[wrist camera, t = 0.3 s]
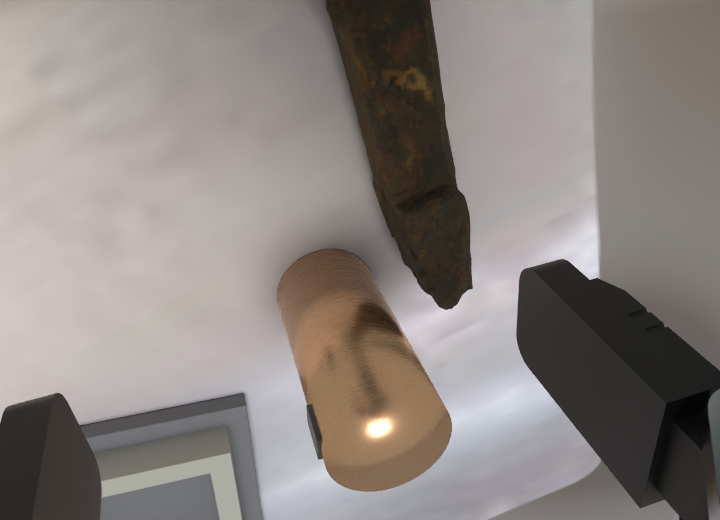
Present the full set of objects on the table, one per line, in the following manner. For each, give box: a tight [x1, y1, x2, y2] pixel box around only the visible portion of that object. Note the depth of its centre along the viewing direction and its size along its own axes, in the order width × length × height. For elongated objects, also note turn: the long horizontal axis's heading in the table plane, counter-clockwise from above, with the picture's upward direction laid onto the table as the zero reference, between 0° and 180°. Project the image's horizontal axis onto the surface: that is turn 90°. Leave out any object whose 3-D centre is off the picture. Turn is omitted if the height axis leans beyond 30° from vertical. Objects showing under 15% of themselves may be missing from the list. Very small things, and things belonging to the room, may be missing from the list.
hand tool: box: [326, 0, 473, 310], centre depth 26 cm, size 23×5×6 cm, turn 11°
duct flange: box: [80, 394, 262, 520], centre depth 35 cm, size 12×12×3 cm
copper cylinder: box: [277, 249, 452, 491], centre depth 28 cm, size 5×5×11 cm
